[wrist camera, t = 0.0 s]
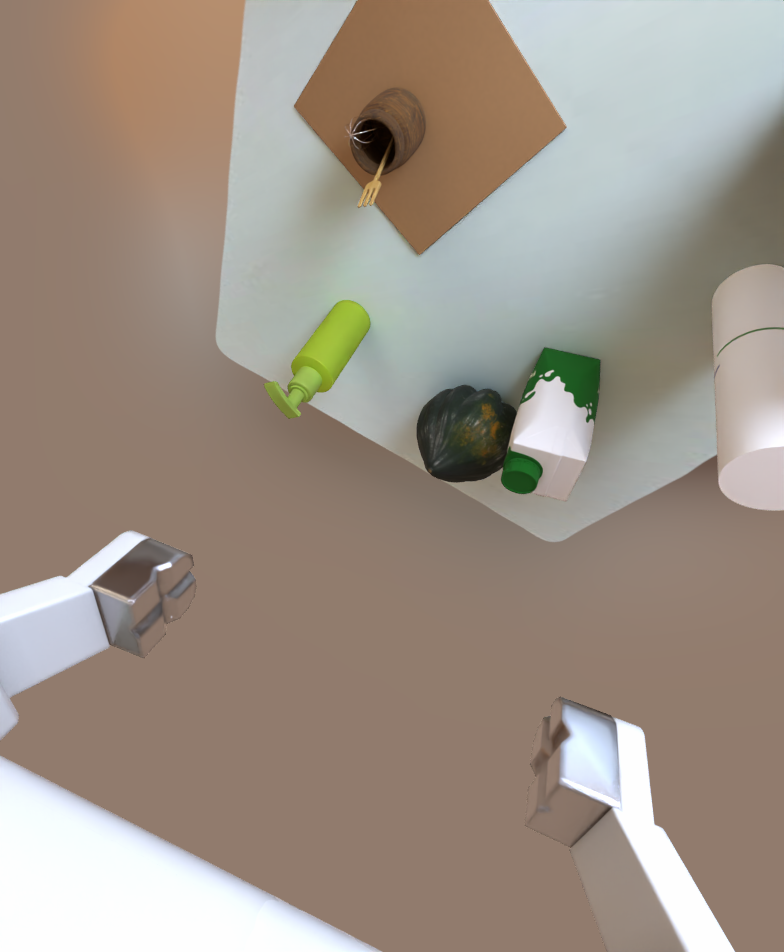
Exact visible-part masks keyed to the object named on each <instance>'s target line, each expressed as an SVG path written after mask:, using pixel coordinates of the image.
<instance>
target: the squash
mask: <svg viewBox="0 0 784 952" xmlns="http://www.w3.org/2000/svg"><path fill="white" fill-rule="evenodd" d="M516 415H517V412H516V410H515V409H514V408H513V407H512V406H510V405H509V404H506V403H503V402H502V401H501V397H500V395H499V394H498V393H497V392H496V391H493V390H491V389H483V390H480V391H478V392H477V391H476V390H475V389H474V388H473V387H471V386H468V385H461V386H458V387H456V388H455V389H447V390H444V391H442V392H440V393H439V394H437V395H436V396H435V397H434V398H433V399H431V400H430V401H429V402H428V403H427V404H426V405H425V406H424V407H423V409H422V411H421V413H420V416H419V419H418V422H417V440H418V446H419V450H420V453H421V456H422V458H423V461H424V464H425V468H426V470H427V471H428V472H429V473H430V474H431V475H432V476H434V477H436V478H438V479H441V480H444V481H448V482H464V481H477V480H482V479H485V478H487V477H488V476H490V475H491V474H492V473H495V472H497V471H498V470H500V469H501V468H502V467H503V464H504V460H505V457H506V455H507V450H508V445H509V441H510V437H511V432H512V428H513V425H514V422H515V418H516Z"/></svg>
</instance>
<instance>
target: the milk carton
mask: <svg viewBox="0 0 784 952" xmlns="http://www.w3.org/2000/svg"><path fill="white" fill-rule="evenodd" d="M599 382H600V360H599V359H594V358H590V357H585V356H581V355H576V354H572V353H567V352H563V351H558V350H554V349H549V348H544V349H543V351H542V354H541V356H540V358H539V360H538V362H537V364H536V366H535V368H534V370H533V372H532V374H531V376H530V378H529V380H528V382H527V385H526V388H525V390H524V393H523V396H522V399H521V402H520V405H519V409H518V412H517V415H516V418H515V422H514V425H513V428H512V432H511V437H510V441H509V445H508V450H507V455H506V457H505V460H504V464H503V473H502V476H501V483H502V484H503V486H504V487H505V488H507V489H508V490H510V491H512V492H514V493H519V494H527V493H535V494H536V495H540V496H548V497H552V498H555V499H559V500H562V501H567V499H568V497H569V495H570V493H571V491H572V489H573V487H574V485H575V483H576V481H577V479H578V477H579V475H580V473H581V471H582V469H583V467H584V465H585V463H586V461H587V458H588V454H589V451H590V447H591V442H592V436H593V430H594V424H595V418H596V412H597V406H598V400H599Z"/></svg>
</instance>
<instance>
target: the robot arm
mask: <svg viewBox="0 0 784 952" xmlns="http://www.w3.org/2000/svg"><path fill="white" fill-rule="evenodd" d="M193 566H194V562H193V557H192V555H191V554H188V553H186V552H183V551H181V550H179V549H176V548H174V547H171V546H169V545H166V544H164V543H162V542H159V541H156V540H154V539H152V538H150V537H147V536H145V535H142V534H139V533H137V532H134V531H132V530H131V531H128V532H125V533H122V534H121V535H120V536H118V537H117V538H116V539H114V540H113V541H112V542H111V543H110V544H108V545H107V546H106V547H104V548H103V549H102V550H101V551H99V552H98V553H97V554H96V555H94V556H93V557H92V558H90V559H89V560H88V561H87V562H85V563H84V564H83V565H82V566H80V567H79V568H78V569H77V570H75V571H74V572H73V573H72V574H70V575H69V576H68V577H67V578H65V577H62V576H58V577H55V578H51V579H48V580H45V581H42V582H38V583H35V584H32V585H29V586H26V587H22V588H19V589H16V590H13V591H9V592H6V593H3V594H0V740H1V739H2V738H3V737H4V736H5V735H6V734H7V733H8V732H9V731H10V730H11V729H12V728H13V727H14V726H15V725H16V724H17V723H18V718H19V714H18V713H17V711H16V709H15V707H14V706H13V704H12V702H11V700H10V697H12V696H14V695H16V694H18V693H20V692H22V691H24V690H26V689H28V688H30V687H32V686H34V685H36V684H38V683H39V682H42V681H44V680H46V679H47V678H49V677H52V676H54V675H55V674H58V673H60V672H62V671H64V670H66V669H68V668H70V667H71V666H73V665H75V664H77V663H79V662H81V661H83V660H85V659H87V658H89V657H91V656H93V655H95V654H97V653H99V652H101V651H103V650H105V649H107V648H109V647H110V645H112V646H114V647H117V648H120V649H122V650H124V651H127V652H129V653H132V654H134V655H137V656H139V657H142V658H145V657H146V656H147V655H148V653H149V652H150V651H151V650H152V649H153V648H154V647H155V645H156V644H157V643H158V642H159V641H160V640H161V639H162V638H163V637H164V636H165V635H166V625H167V624H168V623H170V622H173V621H175V620H178V619H180V618H181V616H182V615H183V614H184V613H185V612H186V611H187V609H188V608H189V606H190V604H191V602H192V600H193V598H194V597H195V592H196V579H195V578H194V576H193V575H192V574H191V572H190V571H189V570H190V569H191V568H192V567H193ZM530 765H531V767H532V769H533V772H534V774H535V776H536V778H535V780H534V781H533V782H532V784H531V785H530V787H529V788H528V795H527V808H526V819H525V826H526V827H528V828H530V829H532V830H534V831H536V832H539V833H541V834H543V835H545V836H547V837H549V838H552V839H553V840H556V841H558V842H560V843H562V844H564V845H566V846H568V847H570V848H571V849H570V853H571V856H572V858H573V861H574V864H575V866H576V869H577V872H578V875H579V877H580V880H581V883H582V886H583V888H584V891H585V894H586V897H587V899H588V902H589V905H590V907H591V910H592V913H593V916H594V918H595V921H596V924H597V927H598V929H599V932H600V935H601V938H602V940H603V943H604V946H605V948H606V951H607V952H735V951H734V950H733V948H732V946H731V944H730V943H729V941H728V940H727V938H726V936H725V934H724V933H723V931H722V929H721V927H720V926H719V924H718V922H717V920H716V919H715V917H714V915H713V914H712V912H711V910H710V908H709V907H708V905H707V903H706V902H705V900H704V898H703V896H702V895H701V893H700V891H699V890H698V888H697V886H696V884H695V883H694V881H693V879H692V878H691V876H690V874H689V872H688V871H687V869H686V867H685V865H684V864H683V862H682V860H681V859H680V857H679V855H678V853H677V852H676V850H675V848H674V847H673V845H672V843H671V841H670V840H669V838H668V836H667V835H666V833H665V831H664V829H662V828H661V827H658V826H656V825H654V818H653V809H652V799H651V790H650V781H649V772H648V763H647V754H646V745H645V735H644V733H643V731H642V729H641V728H640V727H638V726H635V725H633V724H630V723H627V722H625V721H622V720H619V719H616V718H613V717H611V715H608V714H606V713H603V712H600V711H597V710H595V709H592V708H589V707H587V706H584V705H581V704H579V703H576V702H573V701H571V700H567V699H565V698H562V697H559V698H556V700H555V701H554V703H553V704H552V706H551V716H548V717H544V718H543V720H542V721H541V723H540V725H539V727H538V729H537V732H536V735H535V738H534V741H533V747H532V753H531V763H530ZM0 952H382V951H380V950H378V949H376V948H374V947H372V946H370V945H368V944H367V943H364V942H363V941H360V940H359V939H357V938H355V937H353V936H351V935H349V934H347V933H345V932H343V931H341V930H339V929H337V928H335V927H333V926H331V925H329V924H328V923H326V922H324V921H321V920H320V919H318V918H315V917H314V916H312V915H310V914H308V913H306V912H304V911H302V910H300V909H298V908H296V907H294V906H292V905H291V904H288V903H287V902H285V901H283V900H281V899H279V898H277V897H275V896H273V895H270V894H269V893H267V892H265V891H263V890H261V889H259V888H257V887H255V886H253V885H252V884H250V883H247V882H246V881H244V880H242V879H240V878H238V877H236V876H234V875H232V874H230V873H228V872H226V871H224V870H222V869H220V868H218V867H216V866H214V865H212V864H211V863H208V862H206V861H205V860H203V859H201V858H199V857H197V856H195V855H193V854H191V853H189V852H187V851H185V850H183V849H181V848H179V847H177V846H175V845H173V844H172V843H170V842H167V841H166V840H163V839H162V838H160V837H158V836H156V835H154V834H152V833H150V832H148V831H146V830H144V829H142V828H140V827H138V826H136V825H135V824H132V823H131V822H129V821H127V820H125V819H123V818H121V817H119V816H117V815H115V814H113V813H111V812H109V811H107V810H105V809H103V808H101V807H99V806H97V805H95V804H94V803H92V802H90V801H88V800H86V799H84V798H82V797H80V796H78V795H76V794H74V793H72V792H70V791H68V790H66V789H64V788H62V787H60V786H58V785H56V784H54V783H52V782H51V781H48V780H47V779H45V778H43V777H41V776H39V775H37V774H35V773H33V772H31V771H29V770H27V769H25V768H23V767H21V766H19V765H17V764H16V763H14V762H11V761H10V760H8V759H6V758H4V757H2V756H0Z"/></svg>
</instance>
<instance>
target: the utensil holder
mask: <svg viewBox="0 0 784 952" xmlns="http://www.w3.org/2000/svg"><path fill="white" fill-rule="evenodd" d="M357 117H358V119H357V120H356V122H354V125H353V128H352V130H351V124H352V123H349V124H350V132H351V134H350V133H349V132H348V131H347V132H348V133H349V134H350V135H348V136H350V140H349V142H350V145H349V146H350V147H351V151H352V154H353V157H354V159H355V160H356V162H357V164H358V165H359V166H360V167H361V168H362V169H363V170H364V171H366V172H367V173H369V174H371V175H375V178H374V180H373V181H372V182H370V183H368V184H367V185H366V187H365V189H364V191H363V194H362V196H361V199H360V201H359V204H358V208H360V207H361V205H362V203H363V201H364V199H365V197H366V195H367V193H368V195H367V197H366V200H365V202H364V205H363V206H364V207H366V206H367V204H368V201H369V199H370V197H371V195H372V193H373V191H374V193H373V196H372V198H371V201H370V203H369V205H370V206H371V205H372V204H373V202H374V200H375V198H376V196H377V193H378V191H379V189H380V187H381V183H380V181H378V179H379V177H380V176H382V175H386V174H388V173H390V172H392V171H393V170H395V169H397V168H399V167H401V166H402V165H403V164H405V163H406V162H407V161H408V160H409V158H410V157H411V156H412V155H413V154H414V153H415V152H416V150H417V149H418V148H419V146H420V144H421V142H422V140H423V138H424V134H425V129H426V120H425V114H424V110H423V108H422V106H421V104H420V102H419V100H418V99H417V98H416V97H415V96H414V95H413V94H412V93H411V92H410V91H408V90H406V89H403V88H398V87H395V88H390V89H387V90H385V91H383V92H381V93H380V94H379V95H377V96H376V97H375V98H374V99H373V100H371V101H370V102H369V103H368V104H367V105H366V106H365V107H364V109H363V110H362V111H361V113H360V115H359V116H357ZM354 118H356V117H354ZM354 118H353V119H354ZM353 119H352V120H353ZM352 120H351V122H352ZM347 125H348V124H347ZM345 128H346V126H345ZM346 130H347V129H346ZM348 136H345V137H348Z"/></svg>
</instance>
